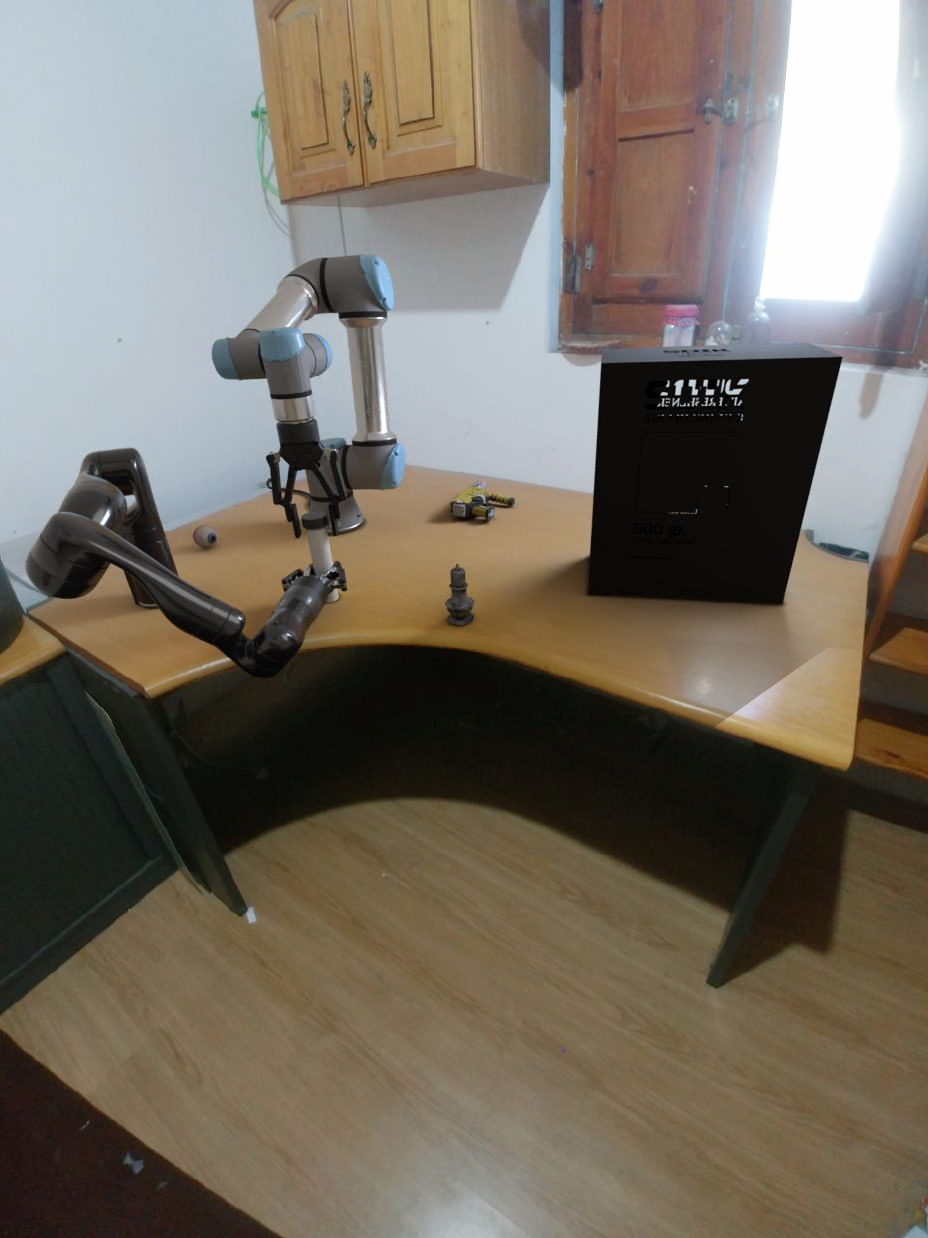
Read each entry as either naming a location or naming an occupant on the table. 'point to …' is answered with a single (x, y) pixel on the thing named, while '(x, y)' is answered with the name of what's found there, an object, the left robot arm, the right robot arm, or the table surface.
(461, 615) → the dark grey chess piece
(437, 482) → the table surface
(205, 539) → the eyeball
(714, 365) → the cardboard box
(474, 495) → the toy gun
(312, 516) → the lid
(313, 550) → the white cylinder
